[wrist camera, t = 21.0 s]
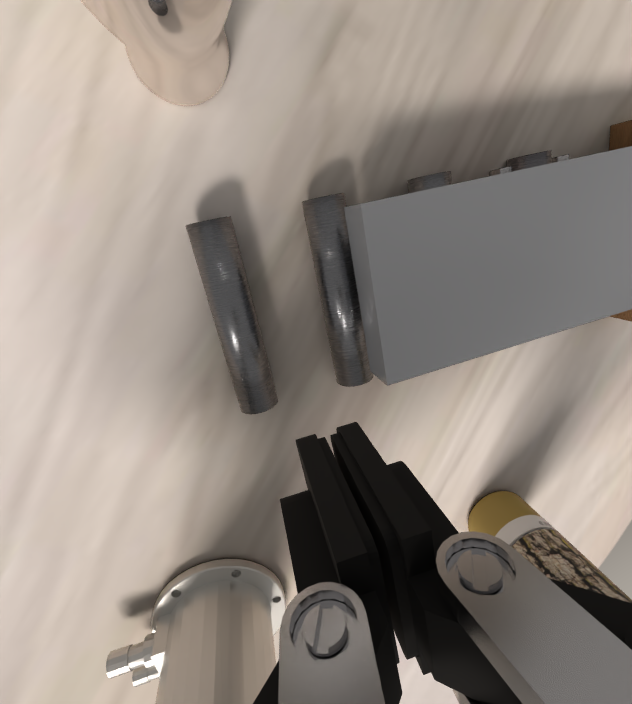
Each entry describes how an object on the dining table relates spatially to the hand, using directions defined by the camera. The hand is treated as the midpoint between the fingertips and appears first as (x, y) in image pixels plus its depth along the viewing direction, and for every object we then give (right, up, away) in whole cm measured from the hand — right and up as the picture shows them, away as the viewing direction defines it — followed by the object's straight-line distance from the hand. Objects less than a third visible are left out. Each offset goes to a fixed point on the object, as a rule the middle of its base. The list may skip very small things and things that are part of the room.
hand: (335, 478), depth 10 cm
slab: (+14, +11, +19) cm, 26 cm away
